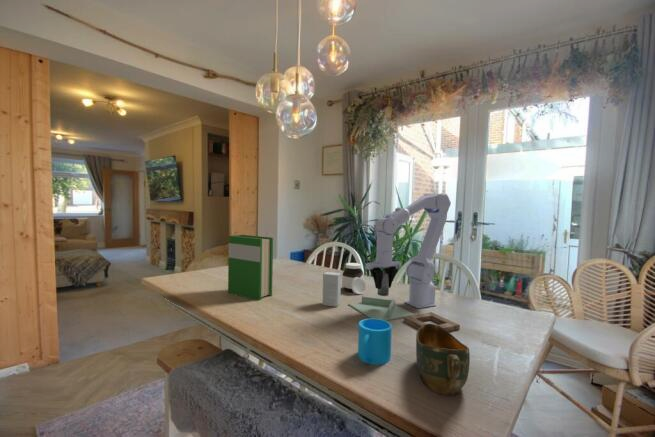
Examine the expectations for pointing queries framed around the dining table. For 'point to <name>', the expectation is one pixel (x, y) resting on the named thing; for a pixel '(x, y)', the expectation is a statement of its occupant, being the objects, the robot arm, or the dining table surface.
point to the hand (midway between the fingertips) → (383, 287)
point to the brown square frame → (444, 323)
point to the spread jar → (353, 278)
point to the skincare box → (331, 289)
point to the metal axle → (384, 285)
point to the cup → (441, 360)
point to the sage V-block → (380, 308)
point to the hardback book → (250, 266)
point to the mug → (374, 341)
